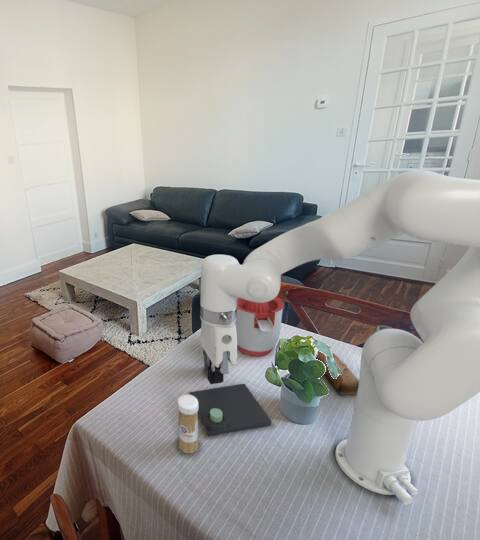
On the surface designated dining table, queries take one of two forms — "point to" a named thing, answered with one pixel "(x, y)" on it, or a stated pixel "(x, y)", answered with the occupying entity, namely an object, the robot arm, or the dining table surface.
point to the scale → (230, 409)
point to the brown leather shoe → (341, 377)
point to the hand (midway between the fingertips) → (215, 381)
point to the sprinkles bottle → (188, 423)
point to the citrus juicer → (258, 325)
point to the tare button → (216, 415)
